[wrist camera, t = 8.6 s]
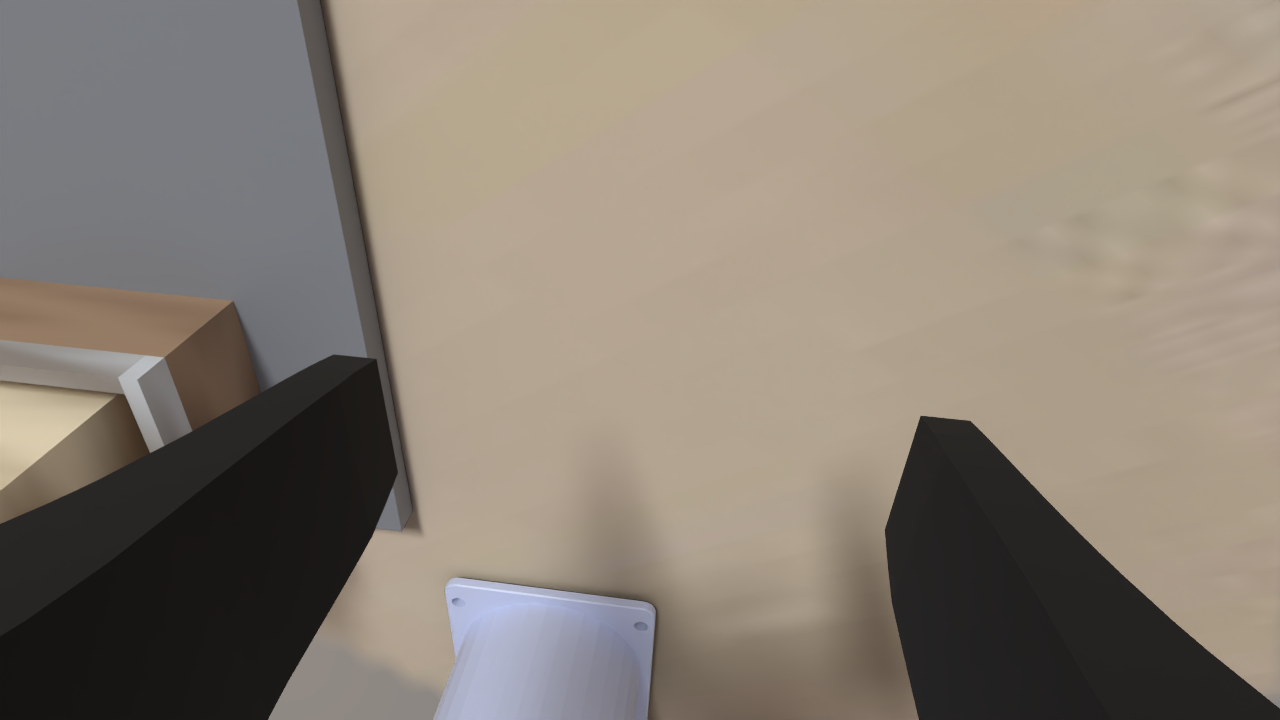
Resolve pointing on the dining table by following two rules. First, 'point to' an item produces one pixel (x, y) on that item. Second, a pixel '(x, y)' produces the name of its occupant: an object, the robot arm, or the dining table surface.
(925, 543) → the robot arm
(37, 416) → the maple block
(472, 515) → the dining table surface
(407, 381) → the dining table surface
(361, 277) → the board
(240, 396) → the walnut plinth
